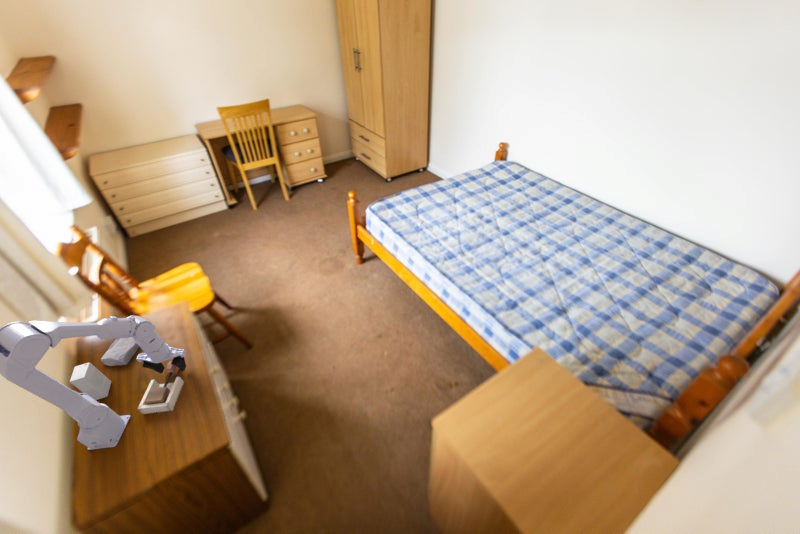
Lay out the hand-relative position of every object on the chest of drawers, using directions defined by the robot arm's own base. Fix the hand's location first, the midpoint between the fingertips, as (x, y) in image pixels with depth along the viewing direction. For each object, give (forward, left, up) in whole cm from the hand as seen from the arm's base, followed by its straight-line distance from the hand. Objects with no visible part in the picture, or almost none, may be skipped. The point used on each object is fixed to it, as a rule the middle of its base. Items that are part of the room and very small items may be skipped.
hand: (173, 369), depth 119 cm
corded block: (-6, 0, -1) cm, 6 cm away
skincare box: (-5, +22, -2) cm, 23 cm away
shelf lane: (-9, 0, -2) cm, 9 cm away
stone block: (+11, +23, -2) cm, 26 cm away
